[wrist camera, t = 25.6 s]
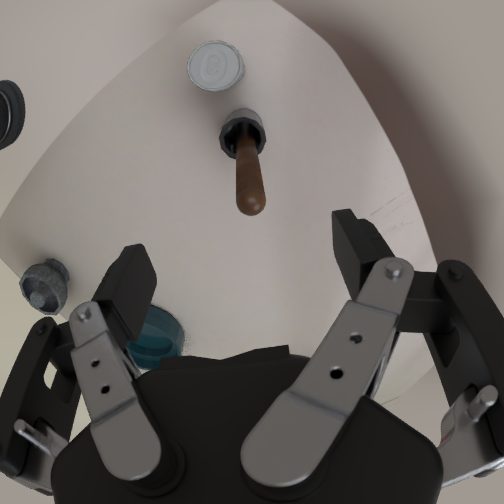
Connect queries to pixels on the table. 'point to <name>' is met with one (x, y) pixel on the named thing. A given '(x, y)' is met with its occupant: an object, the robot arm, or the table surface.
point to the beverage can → (215, 66)
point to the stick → (248, 172)
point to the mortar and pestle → (45, 286)
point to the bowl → (157, 340)
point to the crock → (229, 131)
